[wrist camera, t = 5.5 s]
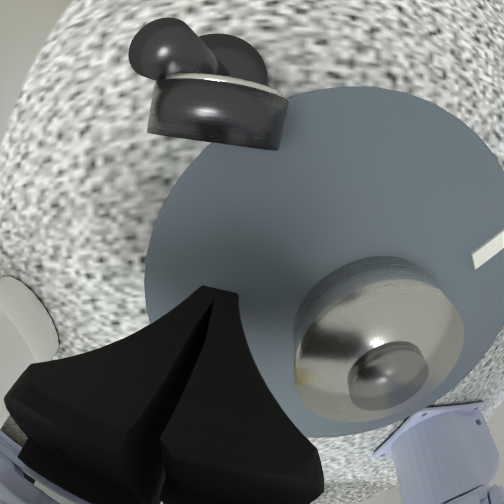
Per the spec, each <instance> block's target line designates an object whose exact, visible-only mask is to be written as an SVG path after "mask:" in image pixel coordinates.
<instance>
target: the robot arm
mask: <svg viewBox="0 0 504 504" xmlns="http://www.w3.org/2000/svg"><path fill="white" fill-rule="evenodd" d="M4 403H5V406H6V409H7V410H8V412H9V413H10V415H11V416H12V418H13V419H14V421H15V422H16V423H17V424H18V426H19V427H20V428H21V430H22V431H23V432H24V433H25V435H26V436H27V437H28V439H27V441H26V443H25V444H24V446H23V448H22V447H20V446H19V445H18V444H16V443H15V442H14V441H12V440H11V439H10V438H8V437H7V436H6V435H4V434H3V433H2V432H1V431H0V504H60V503H59V502H57V501H56V500H54V499H53V498H51V497H50V496H48V495H47V494H46V493H44V492H43V491H42V490H40V489H39V488H38V487H36V486H35V485H33V484H32V483H30V482H29V481H27V480H26V479H25V478H24V475H23V472H25V473H26V474H28V475H29V476H31V477H32V478H33V479H35V480H36V481H38V482H39V483H41V484H42V485H44V486H46V487H47V488H49V489H50V490H52V491H54V492H55V493H57V494H59V495H60V496H62V497H64V498H66V499H68V500H69V501H71V502H73V503H75V504H160V502H161V501H162V502H163V504H309V503H311V502H312V501H314V500H315V499H317V498H318V497H319V496H320V495H321V494H322V493H323V492H324V475H323V470H322V465H321V461H320V457H319V454H318V450H317V448H316V447H315V446H314V445H313V444H312V443H311V442H310V441H309V440H308V439H307V438H306V437H305V436H304V435H303V434H302V433H301V431H300V430H299V429H298V428H297V427H296V426H295V425H294V423H293V422H292V421H291V420H290V418H289V417H288V416H287V414H286V413H285V412H284V411H283V409H282V408H281V406H280V405H279V403H278V402H277V400H276V399H275V397H274V396H273V394H272V393H271V391H270V390H269V388H268V386H267V385H266V383H265V381H264V379H263V377H262V376H261V374H260V372H259V370H258V368H257V365H256V363H255V361H254V359H253V356H252V354H251V351H250V349H249V346H248V343H247V340H246V337H245V334H244V330H243V326H242V322H241V317H240V311H239V295H238V294H237V293H235V292H230V291H226V290H221V289H217V288H213V287H208V286H204V285H202V286H200V287H199V288H198V289H197V290H195V291H194V292H193V293H192V294H191V295H190V296H188V297H187V298H186V299H185V300H183V301H182V302H181V303H180V304H178V305H177V306H176V307H174V308H173V309H172V310H170V311H169V312H168V313H166V314H165V315H163V316H162V317H160V318H159V319H157V320H156V321H154V322H153V323H151V324H150V325H148V326H146V327H144V328H143V329H141V330H139V331H137V332H136V333H134V334H132V335H130V336H128V337H126V338H124V339H121V340H119V341H116V342H114V343H111V344H109V345H106V346H104V347H101V348H99V349H96V350H93V351H89V352H86V353H83V354H79V355H75V356H72V357H67V358H63V359H58V360H52V361H46V362H40V363H32V364H30V365H29V366H28V367H27V368H26V370H25V371H24V372H23V373H22V374H21V376H20V377H19V378H18V379H17V381H16V382H15V383H14V385H13V386H12V387H11V388H10V390H9V391H8V392H7V394H6V395H5V397H4ZM484 407H485V402H479V403H471V404H463V405H454V406H444V407H430V408H424V409H422V410H420V411H418V412H417V413H415V414H413V415H411V416H410V417H409V418H408V419H407V420H406V421H405V423H404V424H403V425H402V426H401V427H400V428H399V429H398V430H397V431H396V432H395V433H394V434H393V435H392V436H391V437H390V438H389V439H388V440H387V441H386V442H385V443H384V444H383V445H382V446H381V447H380V448H379V449H378V450H376V451H375V452H374V454H373V455H374V457H375V458H378V457H390V456H393V459H394V464H395V469H396V474H397V479H398V484H399V490H400V496H401V502H402V504H504V489H503V487H502V486H499V485H498V486H497V485H496V484H495V485H493V486H492V487H490V488H489V485H490V484H491V483H492V481H493V480H494V478H495V476H496V474H497V472H498V468H499V453H498V450H497V447H496V445H495V443H494V440H493V438H492V435H491V433H490V431H489V429H488V426H487V424H486V422H485V420H484V417H483V415H482V413H481V410H482V409H483V408H484ZM21 470H22V471H23V472H22V471H21Z"/></svg>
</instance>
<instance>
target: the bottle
mask: <svg viewBox="0 0 504 504" xmlns="http://www.w3.org/2000/svg"><path fill="white" fill-rule="evenodd" d="M58 348H59V343H58V335H57V332H56V329H55V327H54V324H53V321H52V319H51V317H50V316H49V314H48V312H47V311H46V309H45V307H44V306H43V304H42V303H41V302H40V300H39V299H38V298H37V297H36V295H35V294H34V293H33V292H32V291H31V290H30V289H29V288H28V287H27V286H25V285H24V284H23V283H22V282H21V281H18V280H16V279H14V278H12V277H10V276H9V277H2V278H1V279H0V428H1V427H2V425H3V424H4V422H5V421H6V420H7V418H8V417H9V415H10V413H9V412H8V410H7V409H6V406H5V403H4V397H5V395H6V394H7V392H8V391H9V390H10V388H11V387H12V386H13V385H14V383H15V382H16V381H17V379H18V378H19V377H20V376H21V374H22V373H23V372H24V371H25V370H26V368H27V367H28V366H29V365H30V364H32V363H40V362H46V361H50V360H51V359H52V358H53V357H54V355H55V354H56V353H57V350H58Z"/></svg>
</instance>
